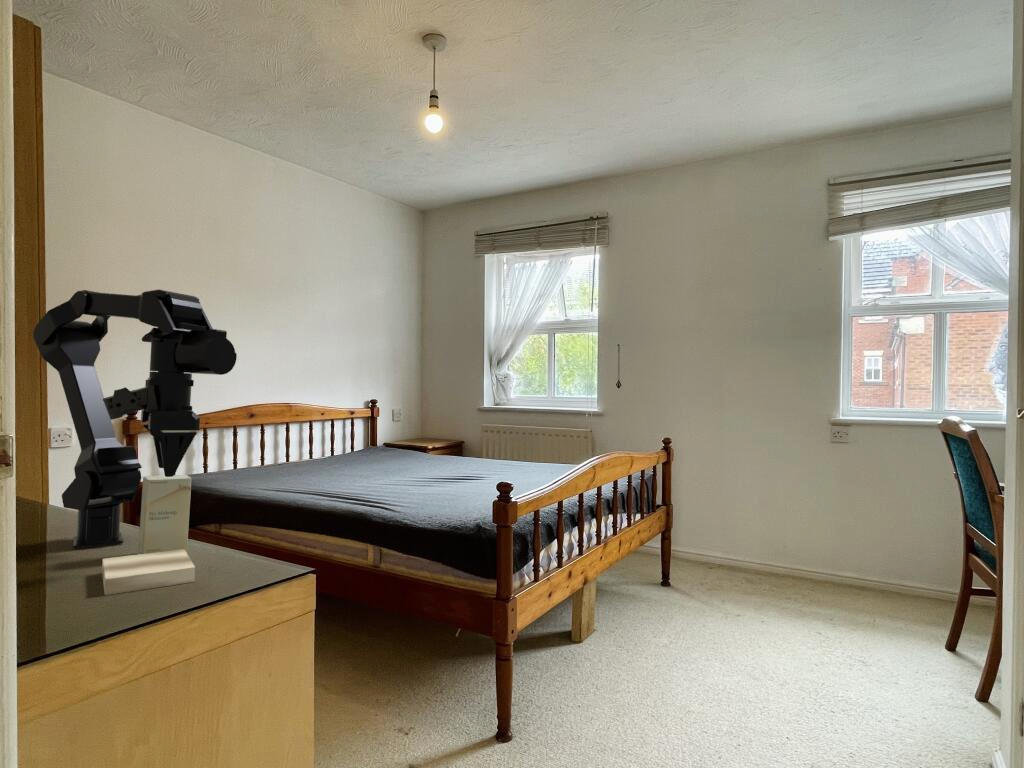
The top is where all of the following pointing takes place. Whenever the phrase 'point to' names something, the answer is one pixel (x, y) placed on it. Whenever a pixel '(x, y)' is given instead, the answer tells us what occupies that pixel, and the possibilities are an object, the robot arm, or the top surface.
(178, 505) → the skincare box
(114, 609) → the top surface
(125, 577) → the birch plinth
